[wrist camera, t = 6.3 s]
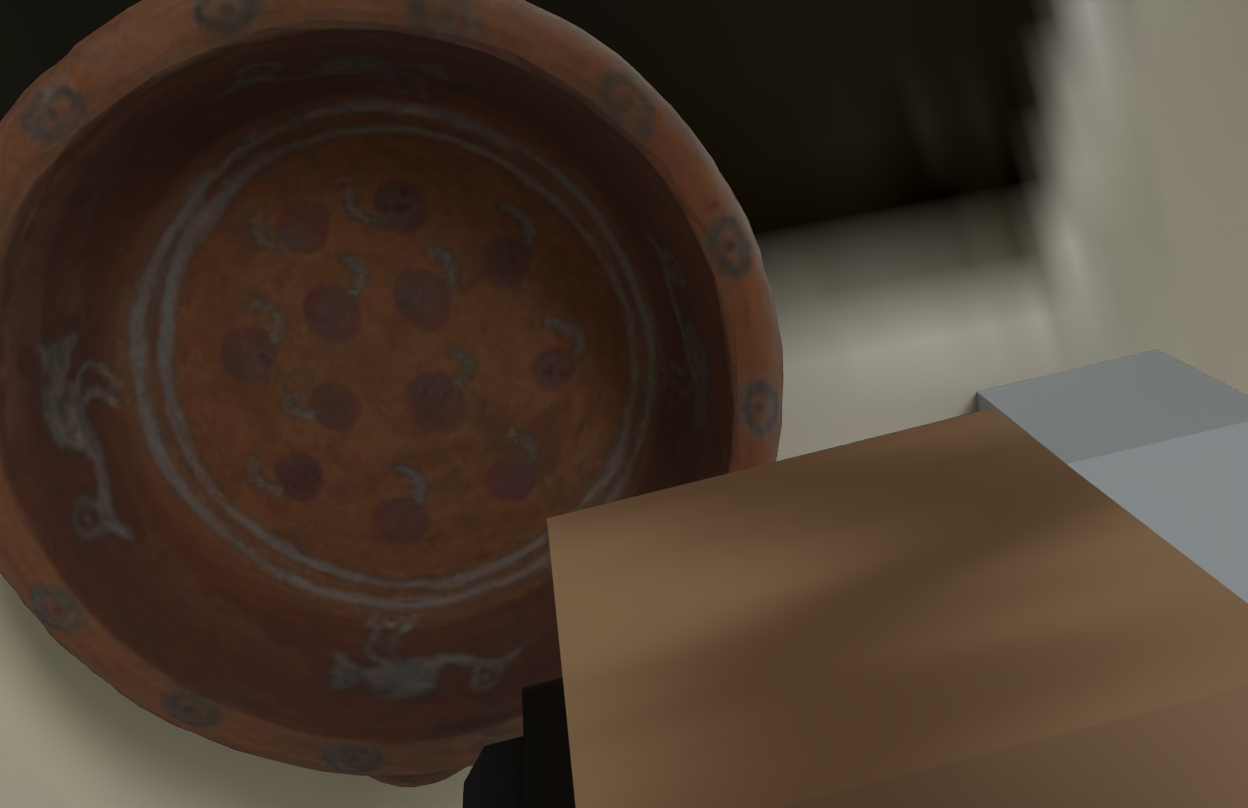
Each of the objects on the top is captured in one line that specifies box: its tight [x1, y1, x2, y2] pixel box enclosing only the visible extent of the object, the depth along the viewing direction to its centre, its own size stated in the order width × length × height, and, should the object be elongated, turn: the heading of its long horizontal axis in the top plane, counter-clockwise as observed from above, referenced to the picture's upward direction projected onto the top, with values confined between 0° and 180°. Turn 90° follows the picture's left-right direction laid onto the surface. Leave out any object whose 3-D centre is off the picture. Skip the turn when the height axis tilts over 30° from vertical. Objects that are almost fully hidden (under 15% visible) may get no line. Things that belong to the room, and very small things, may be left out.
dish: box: [0, 0, 783, 787], centre depth 24 cm, size 18×22×5 cm
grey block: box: [977, 349, 1248, 603], centre depth 27 cm, size 5×5×5 cm
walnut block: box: [547, 408, 1248, 808], centre depth 10 cm, size 5×5×5 cm
